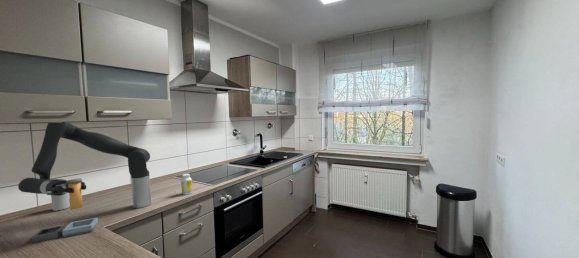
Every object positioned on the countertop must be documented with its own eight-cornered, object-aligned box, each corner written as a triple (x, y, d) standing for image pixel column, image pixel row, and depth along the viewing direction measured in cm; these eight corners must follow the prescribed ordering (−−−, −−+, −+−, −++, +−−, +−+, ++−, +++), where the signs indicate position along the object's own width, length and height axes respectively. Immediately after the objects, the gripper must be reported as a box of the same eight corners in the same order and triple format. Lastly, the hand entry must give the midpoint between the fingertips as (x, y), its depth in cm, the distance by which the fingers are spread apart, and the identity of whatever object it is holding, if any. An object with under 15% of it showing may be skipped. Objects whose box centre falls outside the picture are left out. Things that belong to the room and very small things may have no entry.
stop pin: (71, 207, 110) (68, 179, 110) (85, 204, 113) (83, 177, 112) (67, 210, 106) (64, 182, 105) (82, 208, 108) (79, 180, 107)
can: (49, 210, 138) (47, 190, 138) (65, 206, 145) (63, 186, 145) (57, 212, 135) (55, 191, 135) (72, 207, 143) (71, 187, 142)
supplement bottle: (193, 191, 164) (192, 173, 164) (191, 194, 158) (190, 175, 157) (183, 192, 163) (182, 173, 163) (180, 195, 157) (179, 176, 156)
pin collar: (41, 234, 107) (41, 229, 107) (65, 230, 111) (65, 224, 111) (32, 242, 100) (31, 237, 100) (58, 237, 103) (57, 232, 103)
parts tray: (71, 228, 112) (71, 222, 112) (98, 223, 117) (97, 217, 117) (63, 237, 103) (62, 230, 103) (91, 231, 108) (91, 225, 108)
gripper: (34, 183, 106) (59, 185, 101) (72, 175, 120) (95, 176, 114) (36, 199, 107) (60, 202, 101) (73, 190, 120) (96, 192, 115)
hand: (79, 188), depth 108 cm, fingers closed on stop pin, 4 cm apart
